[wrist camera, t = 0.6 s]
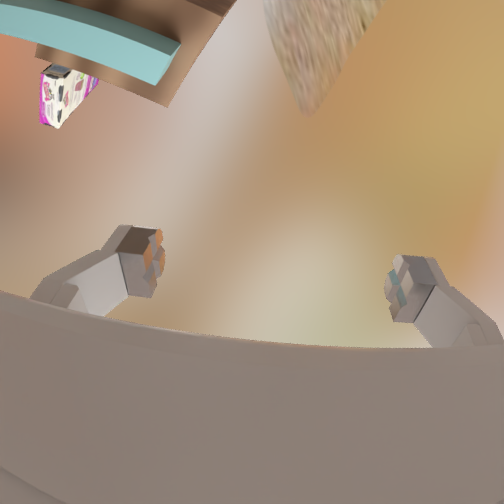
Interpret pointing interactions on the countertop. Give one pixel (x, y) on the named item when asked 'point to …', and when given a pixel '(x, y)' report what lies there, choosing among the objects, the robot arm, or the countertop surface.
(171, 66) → the walnut stand
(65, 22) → the teal bar
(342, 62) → the countertop surface
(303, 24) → the countertop surface
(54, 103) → the candy bar box
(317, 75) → the countertop surface
